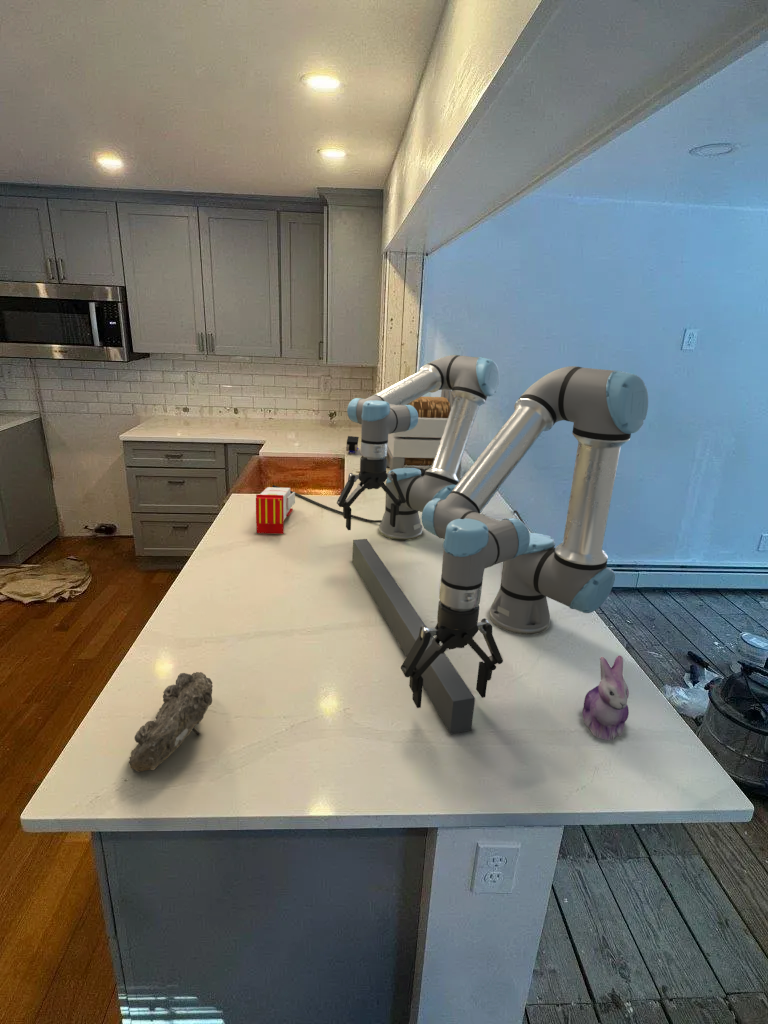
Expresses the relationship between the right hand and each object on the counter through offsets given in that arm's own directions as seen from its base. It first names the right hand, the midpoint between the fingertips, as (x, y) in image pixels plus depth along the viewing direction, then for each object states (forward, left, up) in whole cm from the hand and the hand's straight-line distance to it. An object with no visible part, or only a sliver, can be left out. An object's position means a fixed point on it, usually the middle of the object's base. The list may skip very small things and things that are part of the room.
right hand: (449, 698), depth 111 cm
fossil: (+33, -38, -3) cm, 51 cm away
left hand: (-45, -47, +11) cm, 66 cm away
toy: (-60, -98, -3) cm, 115 cm away
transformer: (-150, -86, -3) cm, 173 cm away
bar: (-22, -24, -3) cm, 33 cm away
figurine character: (-163, -134, -3) cm, 211 cm away
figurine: (-14, +27, -3) cm, 31 cm away
